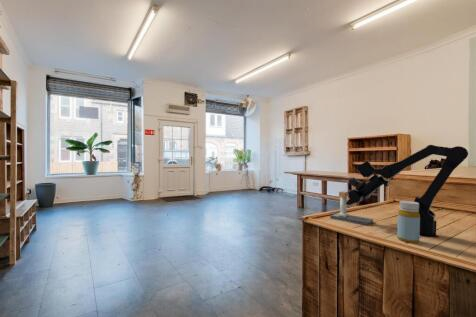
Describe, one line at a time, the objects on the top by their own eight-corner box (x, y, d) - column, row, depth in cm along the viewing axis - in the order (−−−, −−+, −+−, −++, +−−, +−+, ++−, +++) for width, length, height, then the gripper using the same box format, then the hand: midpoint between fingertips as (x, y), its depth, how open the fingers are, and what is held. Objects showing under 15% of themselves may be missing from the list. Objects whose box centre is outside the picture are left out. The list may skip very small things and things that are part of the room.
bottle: (423, 244, 89) (424, 204, 89) (402, 242, 91) (403, 203, 91) (413, 238, 96) (414, 201, 96) (394, 236, 98) (395, 200, 98)
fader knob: (348, 215, 126) (349, 191, 125) (345, 217, 122) (346, 192, 122) (341, 214, 128) (341, 190, 128) (337, 215, 124) (338, 191, 124)
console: (373, 222, 119) (373, 219, 119) (368, 225, 113) (368, 222, 113) (336, 215, 132) (336, 212, 132) (330, 218, 125) (330, 215, 125)
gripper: (364, 172, 127) (342, 190, 134) (353, 173, 113) (329, 193, 121) (381, 188, 121) (357, 206, 129) (371, 192, 108) (344, 211, 115)
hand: (346, 204), depth 124 cm, fingers closed, pressing on fader knob
